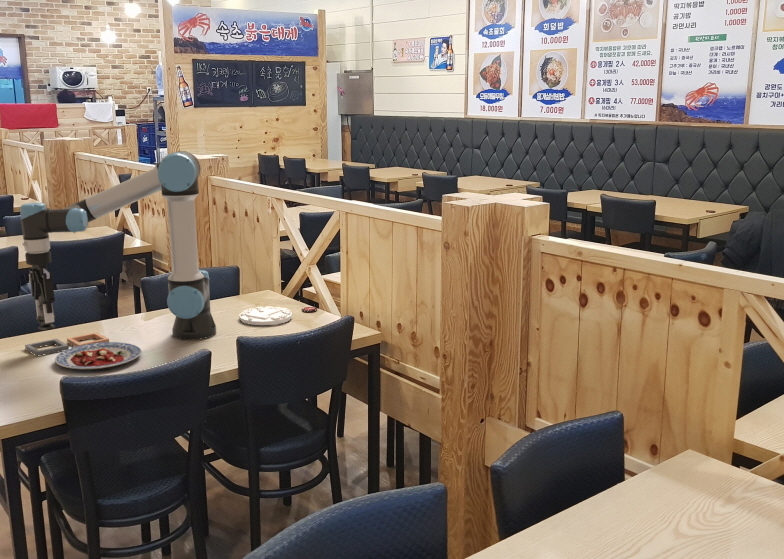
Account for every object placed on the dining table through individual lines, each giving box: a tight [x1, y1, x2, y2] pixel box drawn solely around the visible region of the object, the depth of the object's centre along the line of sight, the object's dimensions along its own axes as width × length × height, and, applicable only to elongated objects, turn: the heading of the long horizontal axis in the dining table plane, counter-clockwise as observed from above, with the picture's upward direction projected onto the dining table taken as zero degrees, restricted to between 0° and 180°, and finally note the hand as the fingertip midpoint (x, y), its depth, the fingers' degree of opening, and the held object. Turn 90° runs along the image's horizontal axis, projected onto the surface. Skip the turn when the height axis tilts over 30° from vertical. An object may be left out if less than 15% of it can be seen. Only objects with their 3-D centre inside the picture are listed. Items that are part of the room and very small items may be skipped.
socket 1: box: [24, 338, 70, 357], centre depth 253 cm, size 10×10×2 cm
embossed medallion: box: [238, 305, 293, 326], centre depth 291 cm, size 20×20×3 cm
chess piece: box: [35, 295, 56, 331], centre depth 250 cm, size 6×6×12 cm
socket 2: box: [66, 332, 110, 347], centre depth 260 cm, size 10×10×2 cm
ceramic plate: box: [54, 341, 142, 370], centre depth 243 cm, size 26×26×3 cm
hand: (45, 320), depth 251 cm, fingers closed on chess piece, 6 cm apart
